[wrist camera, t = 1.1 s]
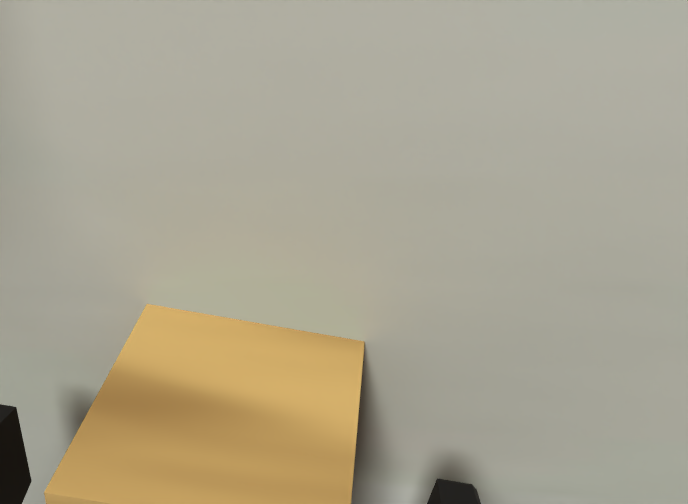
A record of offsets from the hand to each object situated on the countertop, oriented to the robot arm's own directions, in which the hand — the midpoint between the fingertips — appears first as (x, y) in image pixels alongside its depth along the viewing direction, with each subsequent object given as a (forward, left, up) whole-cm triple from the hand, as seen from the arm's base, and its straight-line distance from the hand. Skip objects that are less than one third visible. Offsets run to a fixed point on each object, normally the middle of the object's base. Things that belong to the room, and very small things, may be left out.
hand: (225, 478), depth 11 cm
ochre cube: (0, 0, -2) cm, 2 cm away
